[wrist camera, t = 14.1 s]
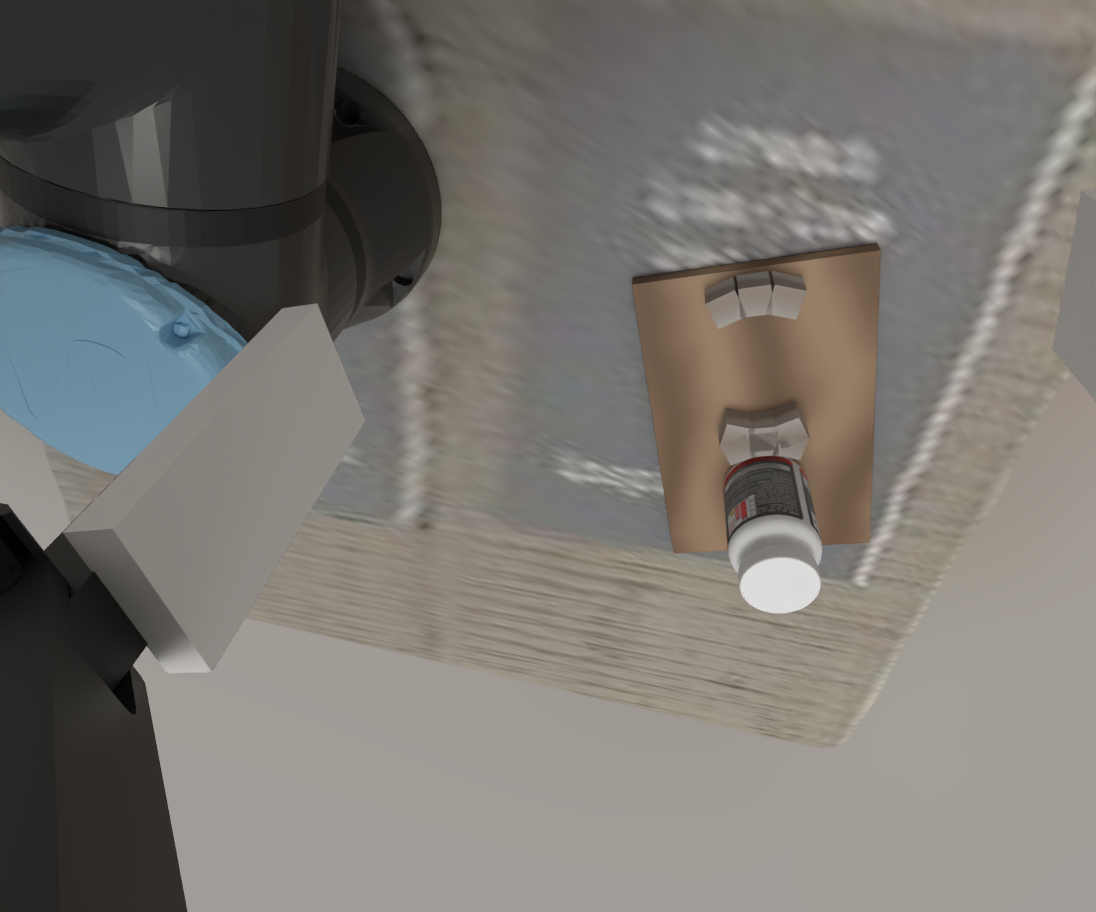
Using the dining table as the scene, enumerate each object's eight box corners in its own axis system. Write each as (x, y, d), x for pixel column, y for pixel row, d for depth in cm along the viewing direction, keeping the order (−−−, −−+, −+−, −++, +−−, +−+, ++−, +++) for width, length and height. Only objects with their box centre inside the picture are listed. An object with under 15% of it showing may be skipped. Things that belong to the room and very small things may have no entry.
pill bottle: (706, 490, 54) (710, 592, 46) (757, 436, 51) (771, 535, 43) (771, 526, 55) (786, 632, 47) (825, 475, 52) (851, 579, 44)
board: (673, 544, 59) (673, 571, 56) (633, 278, 47) (630, 298, 44) (866, 533, 56) (875, 561, 53) (877, 243, 43) (888, 263, 41)
